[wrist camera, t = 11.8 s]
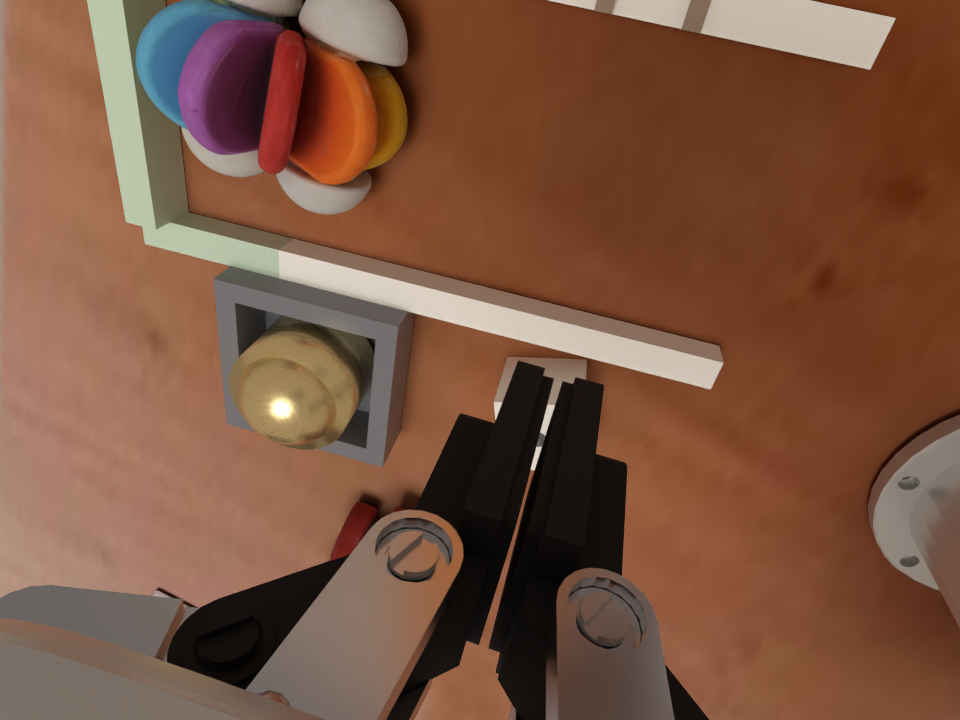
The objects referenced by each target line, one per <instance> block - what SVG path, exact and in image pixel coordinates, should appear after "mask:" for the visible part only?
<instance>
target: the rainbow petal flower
mask: <svg viewBox="0 0 960 720" xmlns="http://www.w3.org/2000/svg"><path fill="white" fill-rule="evenodd" d="M290 16H293V17H298V16H299V24H300V26H301V28H302V30H303V33H304V34H305V36H306V38H303V37H302V34H301V33H299V32H296V31H292V30H290V26H289V23H288V21H287V20H286V19H285V18H284V17H290ZM407 55H408V40H407V33H406V29H405V26H404V23H403V20H402V18H401V16H400V14H399V12H398V10H397V9H396V7H395V6H394V4H393V3H392V2H391V1H389V0H306V1H305V3H304V5H303V0H184V1H180V2H177V3H174V4H172V5H169V6H168V7H166V8H164V9H162V10H161V11H160V12H158V13H157V14H156V15H155V16H154V17H153V18H152V19H151V20H150V21H149V23H148V24H147V25H146V27H145V28H144V29H143V31H142V33H141V35H140V38H139V41H138V45H137V50H136V58H135V61H136V68H137V73H138V76H139V79H140V81H141V83H142V85H143V87H144V89H145V91H146V93H147V95H148V96H149V98H150V99H151V101H152V102H153V103H154V104H155V105H156V106H157V108H158V109H159V110H160V111H161V112H162V113H163V114H165V115H166V116H167V117H168V118H169V119H171V120H172V121H173V122H175V123H176V124H178V125H179V126H181V128H182V132H183V135H184V138H185V140H186V142H187V144H188V146H189V148H190V149H191V151H192V152H193V153H194V155H195V156H196V157H197V158H198V159H199V160H200V161H201V162H202V163H204V164H205V165H206V166H208V167H209V168H211V169H213V170H215V171H216V172H219V173H221V174H225V175H229V176H234V177H249V176H254V175H257V174H260V173H262V172H264V171H265V172H267V173H271V174H276V175H277V178H278V181H279V183H280V185H281V187H282V188H283V190H284V191H285V193H286V194H287V195H288V196H289V197H290V198H291V199H292V200H293V201H294V202H295V203H296V204H298V205H299V206H301V207H302V208H304V209H306V210H309V211H312V212H315V213H318V214H338V213H342V212H345V211H347V210H350V209H352V208H353V207H355V206H356V205H357V204H359V203H360V202H361V201H362V200H363V198H364V197H365V196H366V195H367V193H368V191H369V189H370V188H371V183H372V179H371V176H370V174H369V173H368V172H367V171H366V170H368V169H372V168H374V167H377V166H379V165H382V164H383V163H385V162H387V161H388V160H389V159H391V158H392V157H393V156H394V155H395V154H396V153H397V151H398V150H399V149H400V148H401V146H402V144H403V142H404V139H405V136H406V132H407V125H408V116H407V108H406V103H405V100H404V97H403V94H402V91H401V89H400V87H399V85H398V84H397V82H396V80H395V79H394V77H393V76H392V75H391V73H390V71H389V70H388V69H387V68H386V67H385V66H383V65H388V66H396V67H397V66H402V65H404V64H405V63H406V60H407ZM381 64H382V65H381Z"/></svg>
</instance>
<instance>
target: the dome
mask: <svg viewBox="0 0 960 720" xmlns="http://www.w3.org/2000/svg"><path fill="white" fill-rule="evenodd" d="M373 365H374V352H373V350H372V348H371V346H370V344H369V342H368V340H367V339H366V338H365V337H364V336H360V335H356V334H352V333H349V332H345V331H341V330H337V329H333V328H329V327H326V326H322V325H318V324H314V323H310V322H306V321H303V320H299V319H295V318H291V317H287V316H284V315H282V316H280V317H279V318H278V319H277V320H276V321H275V322H274V323H273V324H272V325H271V326H270V327H269V328H268V329H267V330H266V331H265V332H264V333H263V334H262V335H261V336H260V337H259V338H258V339H257V340H256V341H255V342H254V343H253V344H252V345H251V346H250V347H249V348H248V349H247V350H246V351H245V352H244V353H243V354H242V355H241V356H240V357H239V358H238V359H237V360H236V361H235V362H234V364H233V366H232V368H231V370H230V374H229V390H230V394H231V397H232V400H233V402H234V404H235V406H236V408H237V409H238V411H239V413H240V414H241V415H242V417H243V418H244V419H245V420H246V421H247V423H248V424H249V425H250V426H251V427H252V428H253V430H255V431H256V432H257V433H258V434H259V435H261V436H262V437H264V438H266V439H268V440H270V441H272V442H275V443H279V444H281V445H284V446H287V447H291V448H296V449H308V450H310V449H318V448H322V447H325V446H328V445H330V444H331V443H333V442H334V441H336V440H337V439H338V438H339V437H340V436H341V434H342V433H343V431H344V430H345V428H346V426H347V425H348V423H349V421H350V420H351V418H352V417H353V415H354V413H355V412H356V410H357V408H358V407H359V405H360V404H361V402H362V400H363V399H364V397H365V395H366V394H367V392H368V391H369V389H370V387H371V386H372V377H373Z"/></svg>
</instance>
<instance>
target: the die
mask: <svg viewBox="0 0 960 720" xmlns="http://www.w3.org/2000/svg"><path fill="white" fill-rule="evenodd" d="M518 360H519V361H522V362H526V363H529V364H533V365H536V366H540V367H543V368H545V371H544V374H543V375H544V376H547V377H551V378H554V381H553V385H552V389H551V393H550V396H549V400H548V404H547V408H546V412H545V416H544V420H543V423H542V427H541V431H540V435H539V439H538V443H537V447H536V451H535V454H534V458H533V462H532V466H531V470H535V467H536V464H537V461H538V458H539V455H540V451H541V448H542V445H543V442H544V439H545V436H546V432H547V429H548V426H549V423H550V420H551V416H552V413H553V410H554V407H555V404H556V401H557V397H558V394H559V391H560V388H561V385H562V382H563V381H564V382H568V383H571V384H573V383H574V380H575V378H576V377H578V378H581V379H585V380H587V359H559V358H528V357H507V360H506V363H505V367H504V370H503V373H502V377H501V380H500V383H499V387H498V390H497V393H496V397H495V400H494V409H495V420H496V418H497V416H498V413H499V410H500V408H501V405H502V402H503V399H504V397H505V394H506V391H507V389H508V386H509V383H510V381H511V378H512V375H513V373H514V370H515V367H516V365H517V362H518Z"/></svg>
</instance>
